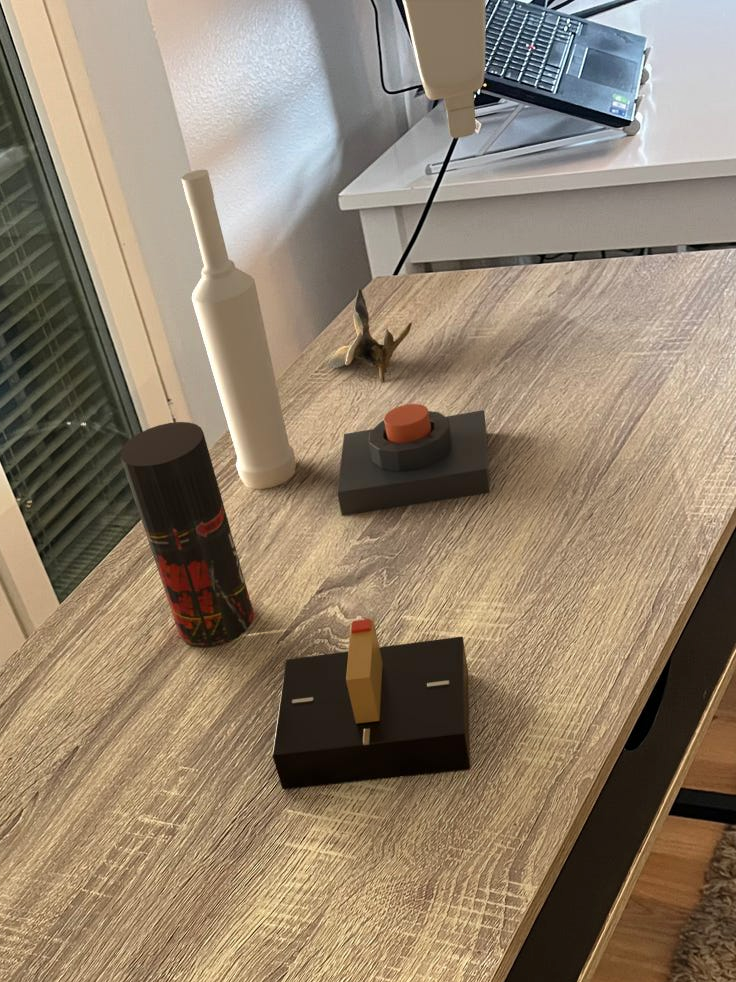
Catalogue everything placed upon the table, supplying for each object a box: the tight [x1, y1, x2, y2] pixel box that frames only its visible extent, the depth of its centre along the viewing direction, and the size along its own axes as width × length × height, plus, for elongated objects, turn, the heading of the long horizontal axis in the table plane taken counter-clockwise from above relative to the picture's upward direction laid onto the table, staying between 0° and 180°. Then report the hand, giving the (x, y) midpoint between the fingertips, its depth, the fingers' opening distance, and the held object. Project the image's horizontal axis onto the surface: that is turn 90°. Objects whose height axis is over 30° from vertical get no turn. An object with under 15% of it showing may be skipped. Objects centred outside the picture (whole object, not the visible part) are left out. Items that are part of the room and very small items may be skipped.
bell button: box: [383, 403, 431, 444], centre depth 104 cm, size 4×4×2 cm
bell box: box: [336, 409, 491, 517], centre depth 106 cm, size 12×10×4 cm
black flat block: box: [271, 636, 471, 790], centre depth 83 cm, size 12×10×3 cm
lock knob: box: [346, 618, 383, 724], centre depth 81 cm, size 6×2×4 cm, turn 174°
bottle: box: [181, 169, 297, 490], centre depth 104 cm, size 5×5×25 cm
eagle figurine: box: [325, 288, 413, 384], centre depth 122 cm, size 8×7×9 cm
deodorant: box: [119, 421, 255, 648], centre depth 93 cm, size 6×6×15 cm
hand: (463, 130), depth 89 cm, fingers closed
